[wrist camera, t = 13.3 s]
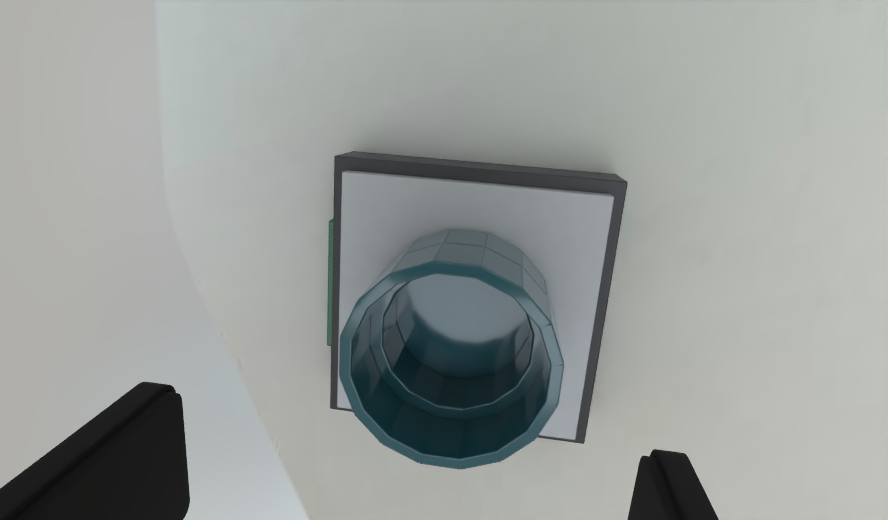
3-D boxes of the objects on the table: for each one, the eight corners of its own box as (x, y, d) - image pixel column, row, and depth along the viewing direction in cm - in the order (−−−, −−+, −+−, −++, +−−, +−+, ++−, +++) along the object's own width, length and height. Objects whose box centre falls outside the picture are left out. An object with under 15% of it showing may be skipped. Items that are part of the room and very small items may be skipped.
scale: (338, 381, 26) (316, 415, 23) (343, 150, 23) (318, 156, 20) (577, 413, 25) (586, 452, 22) (616, 174, 22) (631, 183, 19)
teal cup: (375, 379, 22) (336, 452, 18) (382, 218, 21) (341, 250, 16) (540, 400, 22) (547, 483, 17) (563, 236, 20) (577, 276, 15)
